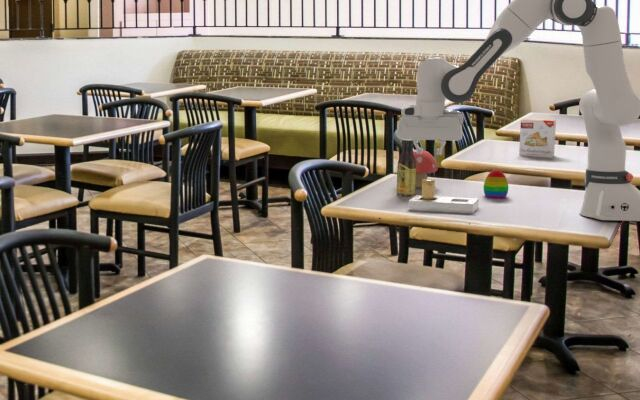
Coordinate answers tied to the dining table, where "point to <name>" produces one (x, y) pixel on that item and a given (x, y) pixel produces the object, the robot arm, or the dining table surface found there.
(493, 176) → the decorative egg
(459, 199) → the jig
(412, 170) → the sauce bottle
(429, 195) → the brass cylinder
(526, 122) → the cracker box
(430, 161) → the decorative mushroom
